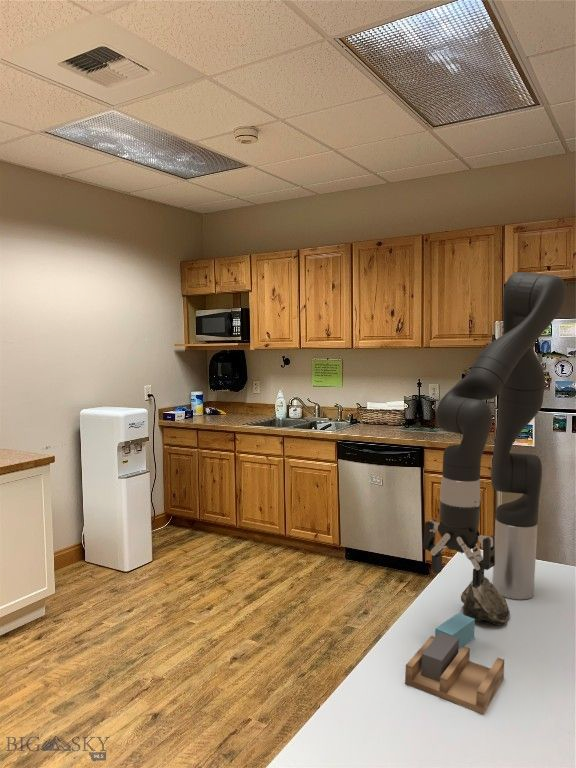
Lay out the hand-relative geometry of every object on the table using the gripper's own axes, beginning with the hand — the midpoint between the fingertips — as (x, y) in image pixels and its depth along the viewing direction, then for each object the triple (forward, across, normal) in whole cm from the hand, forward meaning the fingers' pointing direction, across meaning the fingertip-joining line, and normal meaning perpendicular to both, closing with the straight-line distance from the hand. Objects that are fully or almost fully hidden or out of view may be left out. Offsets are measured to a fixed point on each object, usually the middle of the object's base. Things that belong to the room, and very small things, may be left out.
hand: (456, 579), depth 115 cm
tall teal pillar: (+13, 0, 0) cm, 13 cm away
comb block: (+13, +7, -12) cm, 19 cm away
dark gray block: (+12, +4, -11) cm, 17 cm away
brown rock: (+13, 0, +14) cm, 19 cm away
